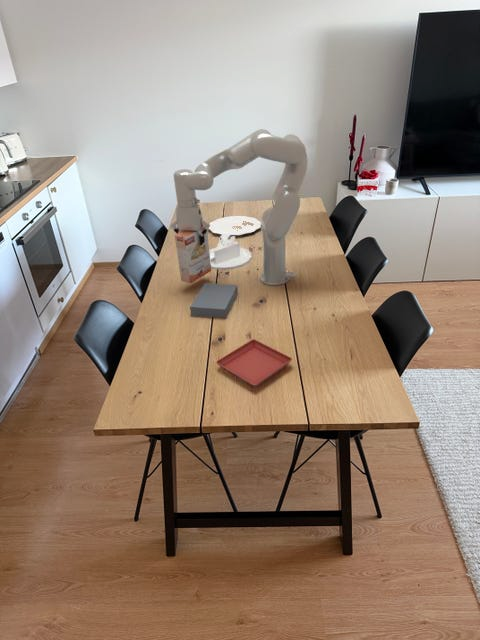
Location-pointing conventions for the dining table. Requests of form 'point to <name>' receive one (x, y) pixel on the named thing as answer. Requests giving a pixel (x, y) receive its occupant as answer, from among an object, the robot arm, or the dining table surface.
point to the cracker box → (192, 255)
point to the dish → (228, 254)
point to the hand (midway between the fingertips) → (192, 243)
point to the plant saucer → (254, 362)
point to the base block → (214, 300)
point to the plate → (227, 223)
